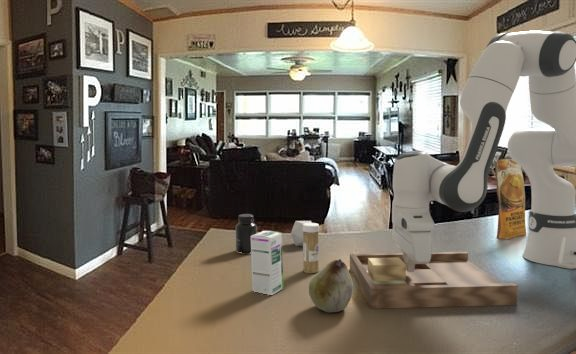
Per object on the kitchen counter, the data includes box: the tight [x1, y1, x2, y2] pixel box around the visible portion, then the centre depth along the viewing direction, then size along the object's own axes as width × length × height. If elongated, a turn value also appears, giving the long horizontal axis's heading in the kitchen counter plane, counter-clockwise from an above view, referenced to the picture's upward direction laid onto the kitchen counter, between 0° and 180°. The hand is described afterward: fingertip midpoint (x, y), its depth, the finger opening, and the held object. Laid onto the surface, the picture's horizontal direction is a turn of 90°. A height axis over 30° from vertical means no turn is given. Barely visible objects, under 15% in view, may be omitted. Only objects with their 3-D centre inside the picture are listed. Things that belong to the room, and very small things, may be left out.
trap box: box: [349, 251, 519, 310], centre depth 114 cm, size 33×27×4 cm
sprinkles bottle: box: [302, 222, 320, 274], centre depth 125 cm, size 5×5×14 cm
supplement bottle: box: [235, 213, 258, 253], centre depth 145 cm, size 7×7×12 cm
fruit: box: [308, 258, 354, 314], centre depth 100 cm, size 10×9×12 cm
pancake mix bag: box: [494, 158, 527, 240], centre depth 162 cm, size 7×19×28 cm, turn 123°
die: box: [290, 220, 313, 247], centre depth 153 cm, size 8×9×10 cm
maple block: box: [368, 257, 406, 281], centre depth 113 cm, size 8×6×4 cm
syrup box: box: [250, 230, 284, 296], centre depth 111 cm, size 6×6×14 cm
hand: (409, 270), depth 114 cm, fingers closed
